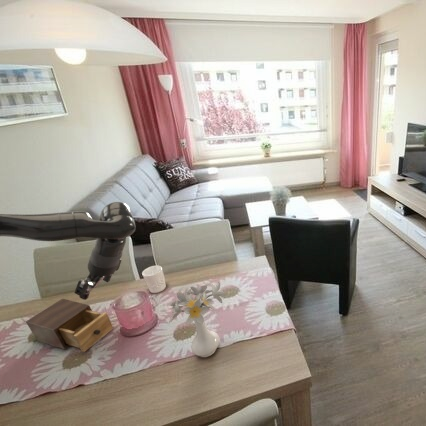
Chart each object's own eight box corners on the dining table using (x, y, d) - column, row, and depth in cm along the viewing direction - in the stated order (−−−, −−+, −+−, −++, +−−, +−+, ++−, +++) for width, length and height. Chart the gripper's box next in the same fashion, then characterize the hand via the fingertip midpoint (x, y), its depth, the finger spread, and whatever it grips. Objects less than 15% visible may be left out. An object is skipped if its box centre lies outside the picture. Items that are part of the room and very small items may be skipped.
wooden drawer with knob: (115, 328, 112) (109, 313, 109) (86, 353, 102) (78, 336, 99) (88, 321, 116) (80, 305, 113) (57, 343, 106) (48, 328, 103)
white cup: (164, 280, 139) (159, 263, 135) (169, 288, 134) (163, 270, 130) (146, 288, 135) (140, 270, 131) (150, 296, 129) (144, 278, 125)
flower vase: (239, 334, 108) (228, 280, 98) (202, 377, 93) (184, 318, 83) (212, 324, 113) (199, 271, 103) (173, 363, 98) (152, 305, 88)
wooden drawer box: (98, 323, 116) (89, 305, 112) (64, 349, 105) (53, 330, 101) (71, 316, 120) (62, 298, 116) (37, 340, 109) (25, 321, 105)
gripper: (113, 238, 94) (102, 269, 102) (72, 264, 82) (64, 297, 89) (134, 251, 95) (122, 281, 103) (97, 279, 83) (86, 310, 90)
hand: (95, 288), depth 96 cm, fingers open, 8 cm apart
